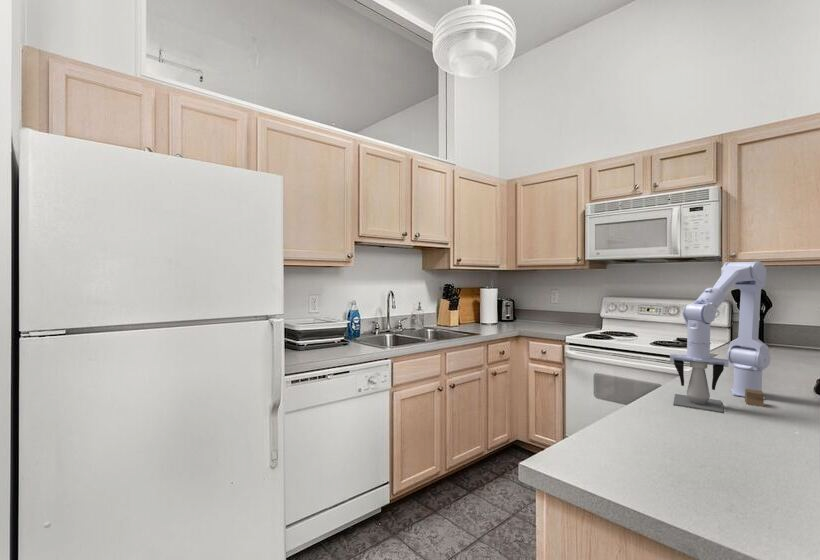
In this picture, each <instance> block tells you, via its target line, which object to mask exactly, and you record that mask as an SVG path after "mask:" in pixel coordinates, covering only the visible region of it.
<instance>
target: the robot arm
mask: <svg viewBox="0 0 820 560" xmlns="http://www.w3.org/2000/svg"><path fill="white" fill-rule="evenodd" d="M720 273H721V275H720V276H719V278H718V279H717V281H716V282H715V284H714V285H713V287H707V288H705V289H704V291H702V293H701V294H700V295H699V297H698V298H697V299H695V301H694V302H692V303H689V304H687V305H685V307H684V309H683V311H682V317H683V320H684V322H685V324H684V325H685V327H687V331H686V332H687V333H686V336H687V339H686V340H687V341H686V354H676V353H674V354H673V353H670V355H669V361H670V362H673V364H674V367H675V368H676V371H677V373H678V377H679V380H680V385H681V387H685V375H684V370H685V369H684V365H685V363H689V364H690V361H691V360H692V361H699V362H707V366H708V365H710V366H712V380H711V381H712V382H711V390H712V391H715V390H716V388H717V387H716V386H717V383H718V381H719V378H720V377H721V374H722V373H723V372H724V370H725V368H729V363H730V365H731V367H733V387H730V390H731V394H732V395H733V396H735V397H736V396H737V397H743V398H745V389H751V390H759V391H762V390H763V371H764V370H766V369H767V368H768V367H769V365H770V362H771V357H770V352H769V346H768V345H767V344H766V343H764V342H763V341H762V340H760V339H759V330H760V329H759V328H760V313H761V311H760V310H761V296H762V295H761V294H762V289H763V288H764V287H765V286H766V283H767V282H766V280H767V268H766V266H765V265H764V264H763V263H762V262H761V261H760V260H758V261H757V260H756V261H736V262H735V261H726V262H724V264H723V266H722V267H721V269H720ZM733 287H737V288H738V290H739V291H740V298H739V300H740V301H739V314H738V315H739V316H738V317H739V319H738V321H739V322H738V333H737V334H738V335H737V336H738V337H737V338H735V339H733V340H732V341H730V342H729V346H728V349H727V351H726V359H725V358H718V357H712V356H711V323H712V322H714V321H715V319H716V316H717V312H718V308H719V307H720V306H721V305H722V304H723V303H724V302H725V300H726V293H727V292H728V291H730V290H731V289H732V288H733ZM762 392H763V391H762ZM765 398H766V397H764V400H765Z"/></svg>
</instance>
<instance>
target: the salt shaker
mask: <svg viewBox="0 0 820 560" xmlns="http://www.w3.org/2000/svg"><path fill="white" fill-rule="evenodd" d="M689 366H690V368H692V369H691V374H690V378H689V380H688V381H689V382H688V385H687V389H686V395H687V396H688V398H689V400H690V402H692V403H695V404H702V405H704V404H706V403H707V401H708V400H709V399H711V398H710V397H711V394H710V390H709V384H708V380H707V379H708V378H707V374H706V369H708V364H707V362H699V361H692V360H691V361H690V363H689Z"/></svg>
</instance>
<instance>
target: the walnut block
mask: <svg viewBox="0 0 820 560" xmlns="http://www.w3.org/2000/svg"><path fill="white" fill-rule="evenodd" d="M764 395H765V394H764V392H763V391H759V390H751V389H745V397H744V403H745V402H746V403H745V405H747V404H748V406H754V405H755V407H762V408H764V401H765V399H764V398H765V396H764Z"/></svg>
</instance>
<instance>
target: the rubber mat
mask: <svg viewBox="0 0 820 560" xmlns="http://www.w3.org/2000/svg"><path fill="white" fill-rule="evenodd" d="M672 406H677V407H682V406H683V407H684V408H688V407H689V408H688V409H696V410H702V411H708V412H713V413H721V414H724V407H723V403H722V400H721V399H715V398H709V400H708V401H707V403H706V404H704V405H702V404H695V403H692V402H690V400H689V398H688V396H687V394H678V393H675V394H674V399H673V404H672Z"/></svg>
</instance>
